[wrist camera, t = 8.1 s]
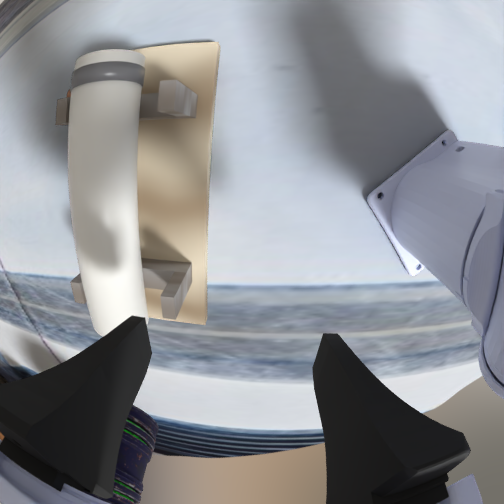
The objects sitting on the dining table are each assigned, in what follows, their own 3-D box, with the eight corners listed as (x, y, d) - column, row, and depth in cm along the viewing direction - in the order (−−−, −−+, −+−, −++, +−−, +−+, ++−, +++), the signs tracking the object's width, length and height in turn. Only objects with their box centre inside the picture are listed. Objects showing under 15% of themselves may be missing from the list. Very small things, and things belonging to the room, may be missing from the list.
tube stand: (99, 61, 13) (55, 45, 8) (220, 47, 13) (205, 12, 8) (108, 303, 21) (78, 341, 16) (207, 317, 21) (194, 366, 16)
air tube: (162, 317, 17) (117, 349, 14) (123, 296, 19) (81, 321, 15) (162, 57, 11) (100, 43, 7) (117, 72, 13) (62, 68, 9)
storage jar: (173, 435, 30) (153, 524, 16) (126, 435, 32) (102, 509, 18) (126, 393, 26) (86, 495, 13) (82, 397, 28) (44, 476, 14)
